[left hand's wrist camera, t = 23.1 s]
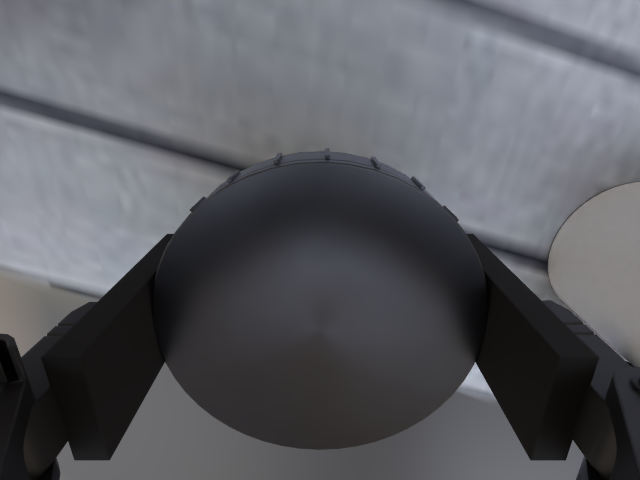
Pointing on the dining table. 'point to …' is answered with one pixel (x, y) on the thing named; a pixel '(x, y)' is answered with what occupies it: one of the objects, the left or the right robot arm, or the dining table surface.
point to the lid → (320, 302)
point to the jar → (603, 267)
